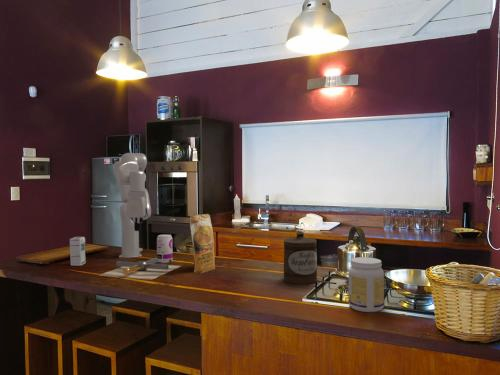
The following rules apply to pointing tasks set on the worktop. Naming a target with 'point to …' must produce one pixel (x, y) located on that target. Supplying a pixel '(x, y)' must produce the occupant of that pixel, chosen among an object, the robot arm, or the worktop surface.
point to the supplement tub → (366, 284)
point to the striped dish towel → (140, 273)
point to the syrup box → (77, 251)
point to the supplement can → (164, 248)
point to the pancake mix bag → (202, 243)
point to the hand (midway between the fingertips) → (137, 230)
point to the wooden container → (300, 259)
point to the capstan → (141, 265)
